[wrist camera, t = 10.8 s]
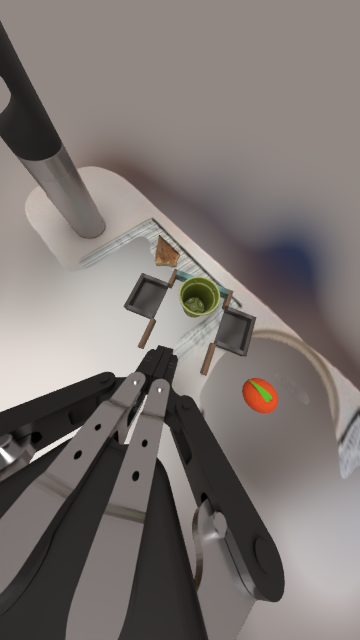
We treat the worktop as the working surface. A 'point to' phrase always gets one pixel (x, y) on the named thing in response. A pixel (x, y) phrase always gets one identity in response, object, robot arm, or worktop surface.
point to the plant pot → (199, 296)
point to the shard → (165, 254)
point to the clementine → (260, 395)
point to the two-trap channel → (232, 327)
